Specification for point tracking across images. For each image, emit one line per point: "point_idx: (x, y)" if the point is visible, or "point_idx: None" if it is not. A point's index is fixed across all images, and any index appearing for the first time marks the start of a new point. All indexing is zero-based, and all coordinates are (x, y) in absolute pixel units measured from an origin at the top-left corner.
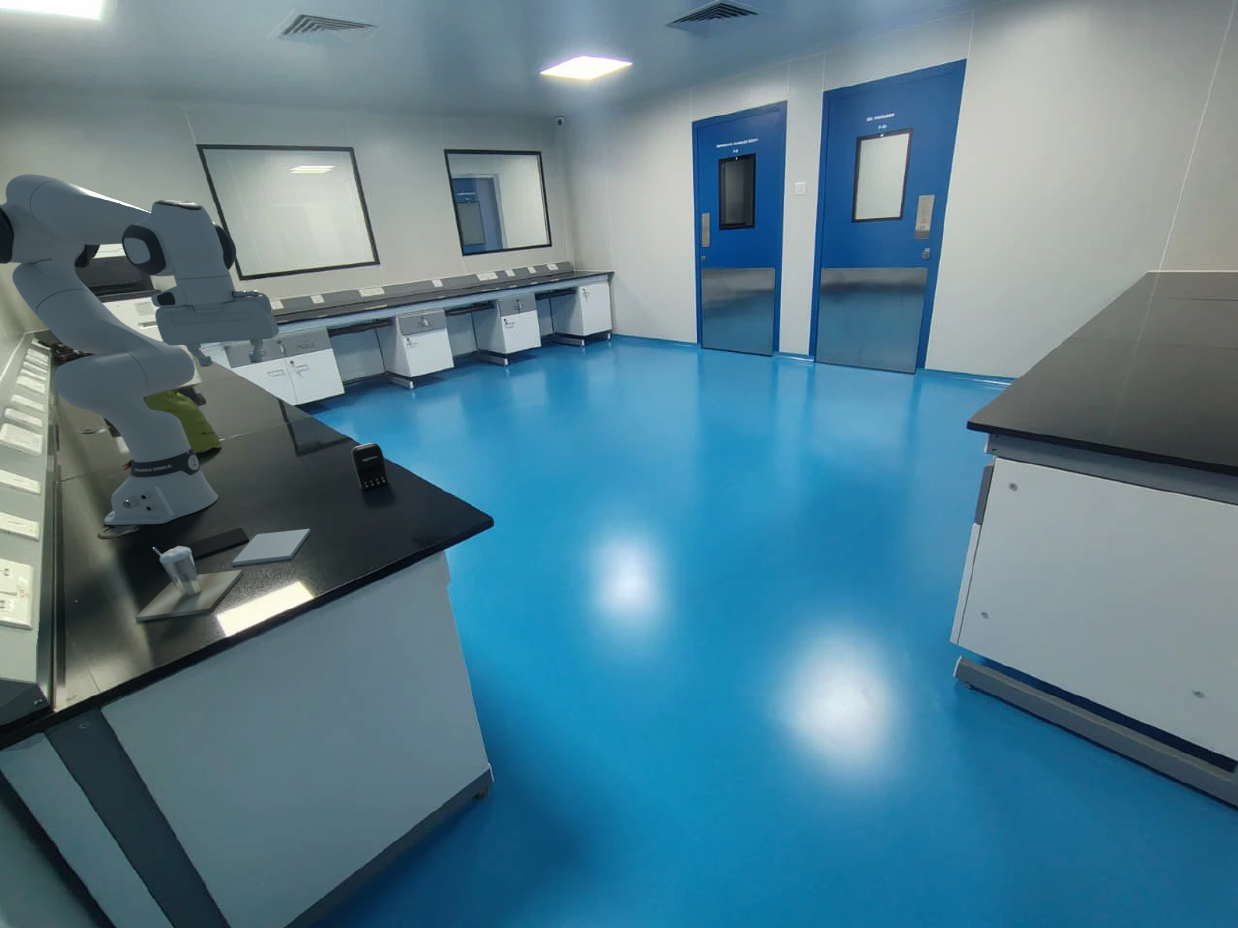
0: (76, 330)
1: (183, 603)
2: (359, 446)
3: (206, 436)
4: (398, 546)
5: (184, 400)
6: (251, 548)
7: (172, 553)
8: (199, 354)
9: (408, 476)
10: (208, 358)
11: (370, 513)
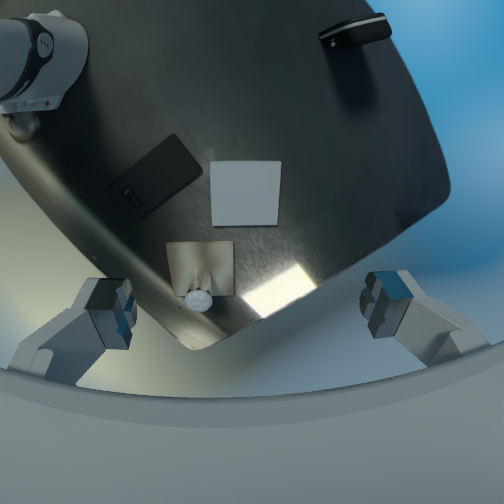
0: None
1: None
2: (362, 24)
3: None
4: (383, 223)
5: None
6: (220, 199)
7: (199, 307)
8: (86, 353)
9: None
10: (119, 319)
11: (349, 129)
